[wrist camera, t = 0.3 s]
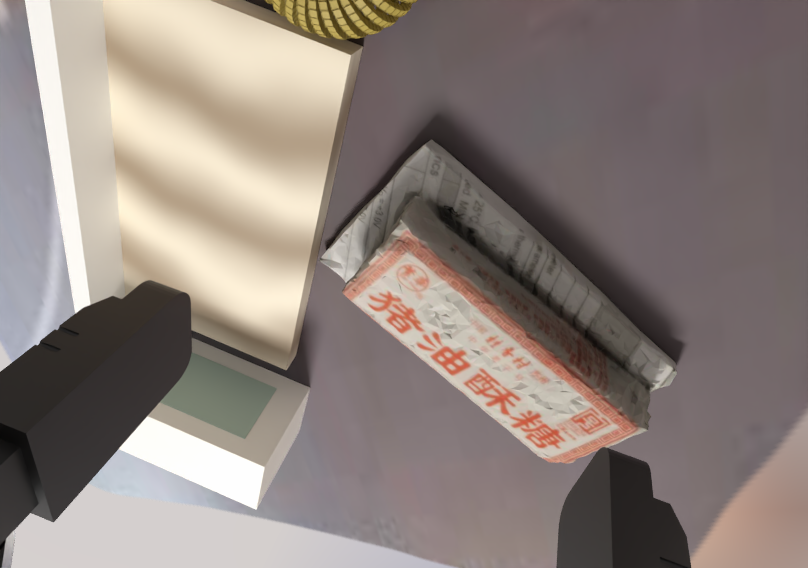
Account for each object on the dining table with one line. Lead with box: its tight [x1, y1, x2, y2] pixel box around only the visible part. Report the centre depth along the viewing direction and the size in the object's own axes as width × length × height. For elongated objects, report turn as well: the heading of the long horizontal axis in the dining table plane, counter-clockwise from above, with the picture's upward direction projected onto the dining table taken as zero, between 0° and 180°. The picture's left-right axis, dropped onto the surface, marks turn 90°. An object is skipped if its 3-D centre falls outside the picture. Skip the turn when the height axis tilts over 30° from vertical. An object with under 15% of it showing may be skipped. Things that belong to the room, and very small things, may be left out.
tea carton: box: [119, 338, 310, 509], centre depth 39 cm, size 6×14×7 cm, turn 74°
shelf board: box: [103, 0, 363, 370], centre depth 31 cm, size 21×13×2 cm, turn 164°
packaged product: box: [319, 139, 677, 463], centre depth 29 cm, size 18×5×10 cm
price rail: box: [25, 0, 125, 314], centre depth 30 cm, size 21×1×3 cm, turn 164°
